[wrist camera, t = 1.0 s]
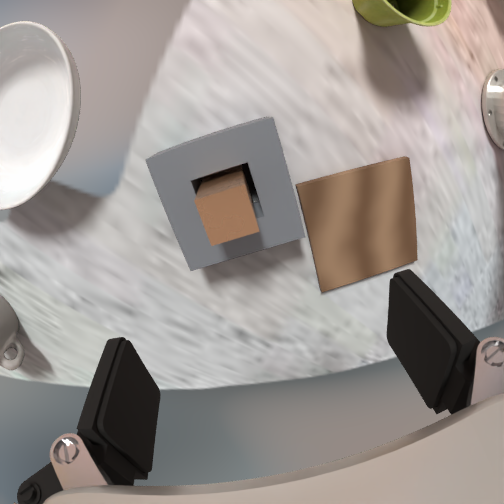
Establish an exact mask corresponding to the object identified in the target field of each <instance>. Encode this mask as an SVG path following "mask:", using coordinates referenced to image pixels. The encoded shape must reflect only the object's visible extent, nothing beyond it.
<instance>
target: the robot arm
mask: <svg viewBox="0 0 504 504" xmlns="http://www.w3.org/2000/svg"><path fill="white" fill-rule="evenodd" d="M482 110H483V117H484V121H485V125H486V128H487V131H488V133H489V135H490V137H491V138H492V140H493V141H494V143H495V144H496V145H497V146H498V147H499V148H501V149H503V150H504V69H497V70H494V71H493V72H491V73H490V74H489V76H488V77H487V79H486V81H485V83H484V87H483V93H482ZM387 340H388V343H389V345H390V346H391V348H392V349H393V351H394V352H395V354H396V356H397V357H398V359H399V360H400V362H401V364H402V365H403V367H404V368H405V370H406V372H407V373H408V375H409V377H410V378H411V380H412V381H413V383H414V384H415V386H416V388H417V389H418V391H419V393H420V394H421V396H422V398H423V400H424V401H425V403H426V405H427V406H428V407H429V408H430V409H431V408H433V409H434V411H435V412H436V414H438V413H440V412H442V411H444V410H446V409H448V410H449V412H450V413H451V415H450V416H448V417H446V418H444V419H442V420H440V421H438V422H436V423H434V424H432V425H429V426H427V427H425V428H422V429H420V430H418V431H415V432H413V433H411V434H409V435H406V436H404V437H401V438H399V439H396V440H394V441H392V442H389V443H386V444H384V445H381V446H378V447H376V448H373V449H370V450H367V451H364V452H361V453H358V454H355V455H352V456H349V457H346V458H342V459H339V460H336V461H332V462H329V463H325V464H321V465H317V466H313V467H309V468H306V469H301V470H297V471H292V472H287V473H282V474H278V475H272V476H267V477H261V478H255V479H248V480H240V481H232V482H224V483H214V484H202V485H185V486H184V485H183V486H134V485H133V484H134V479H145V480H147V478H148V472H150V471H151V470H152V462H153V453H154V443H155V434H156V425H157V418H158V410H159V403H160V390H159V388H158V386H157V385H156V383H155V382H154V380H153V378H152V377H151V375H150V374H149V372H148V370H147V369H146V367H145V365H144V364H143V362H142V360H141V359H140V357H139V355H138V354H137V352H136V350H135V348H134V347H133V345H132V343H131V342H130V341H129V340H126V339H125V338H124V337H119V338H113V339H109V340H108V341H107V343H106V346H105V348H104V351H103V353H102V356H101V359H100V361H99V364H98V367H97V369H96V372H95V375H94V378H93V381H92V383H91V386H90V389H89V392H88V395H87V398H86V401H85V404H84V407H83V410H82V413H81V416H80V420H79V423H78V426H77V429H78V433H77V435H76V434H71V433H68V434H64V435H62V436H60V437H59V438H58V439H56V440H55V442H54V443H53V444H52V447H51V449H50V459H51V462H50V463H49V464H48V465H46V466H45V467H44V468H42V469H41V470H39V471H38V472H37V473H35V474H34V475H32V476H31V477H30V478H28V479H27V480H26V481H24V482H23V483H22V484H21V486H20V487H19V489H18V493H17V499H18V504H504V339H502V338H498V337H489V338H486V339H484V340H483V341H481V342H480V341H479V340H478V339H477V338H476V337H475V336H474V335H473V334H472V332H471V331H470V330H469V329H468V328H467V327H466V326H465V325H464V324H463V322H462V321H461V320H460V319H459V318H458V317H457V316H456V315H455V314H454V313H453V312H452V311H451V310H450V309H449V308H448V307H447V306H446V305H445V303H444V302H443V301H442V300H441V299H440V298H439V297H438V296H437V295H436V294H435V293H434V292H433V291H432V290H431V289H430V288H429V287H428V286H427V285H426V284H425V283H424V282H423V281H422V280H421V279H420V278H419V277H418V276H417V275H415V274H414V273H413V272H412V271H411V270H410V269H407V270H404V271H401V272H397V273H395V274H394V276H393V278H392V279H390V287H389V309H388V325H387ZM14 504H16V503H15V502H14Z"/></svg>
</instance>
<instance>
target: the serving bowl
mask: <svg viewBox="0 0 504 504" xmlns="http://www.w3.org/2000/svg"><path fill="white" fill-rule="evenodd" d="M80 89H81V88H80V79H79V74H78V70H77V66H76V63H75V61H74V58H73V56H72V54H71V52H70V50H69V49H68V47H67V46H66V44H65V43H64V42H63V40H61V38H60V37H59V36H58V35H57V34H55V33H54V32H53V31H52V30H50V29H49V28H47V27H46V26H44V25H41V24H39V23H35V22H29V21H21V22H15V23H11V24H8V25H6V26H3V27H1V28H0V210H6V209H11V208H15V207H17V206H20V205H22V204H24V203H25V202H27V201H29V200H30V199H31V198H33V197H34V196H35V195H36V194H37V193H38V192H39V191H40V190H42V189H43V188H44V187H45V186H46V185H47V183H48V182H49V181H50V180H51V179H52V177H53V176H54V175H55V173H56V172H57V171H58V169H59V168H60V166H61V164H62V163H63V161H64V159H65V158H66V156H67V153H68V151H69V149H70V147H71V144H72V142H73V139H74V136H75V132H76V129H77V124H78V120H79V113H80V103H81V90H80Z"/></svg>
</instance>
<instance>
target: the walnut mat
mask: <svg viewBox="0 0 504 504" xmlns="http://www.w3.org/2000/svg"><path fill="white" fill-rule="evenodd" d="M296 188H297V192H298V196H299V200H300V204H301V208H302V212H303V216H304V220H305V224H306V228H307V232H308V237H309V241H310V245H311V249H312V254H313V258H314V263H315V267H316V272H317V276H318V281H319V286H320V289H321V291H322V292H325V291H328V290H331V289H334V288H337V287H340V286H343V285H347V284H350V283H353V282H356V281H359V280H362V279H365V278H368V277H371V276H374V275H377V274H379V273H382V272H385V271H388V270H391V269H394V268H397V267H400V266H402V265H405V264H408V263H411V262H413V261H416V260H417V235H416V217H415V204H414V194H413V184H412V175H411V167H410V160H409V158H408V157H400V158H396V159H392V160H388V161H384V162H379V163H375V164H371V165H367V166H363V167H359V168H355V169H351V170H347V171H344V172H340V173H336V174H332V175H329V176H325V177H321V178H317V179H314V180H310V181H307V182H303V183H299V184H296Z"/></svg>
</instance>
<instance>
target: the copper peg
mask: <svg viewBox="0 0 504 504" xmlns="http://www.w3.org/2000/svg"><path fill="white" fill-rule="evenodd" d="M194 202H195V204H196V207H197V210H198V212H199V215H200V217H201V220H202V223H203V225H204V228H205V231H206V233H207V236H208V238H209V241H210V243H211V246H214V245H217V244H220V243H223V242H227V241H230V240H233V239H237V238H240V237H243V236H246V235H250V234H253V233H256V232H260V231H259V227H258V223H257V218H256V214H255V210H254V205H253V201H252V197H251V194H250V191H249V187H248V184H247V181H246V178H245V175H244V172H243V168H242V165H241V164H240V165H237V166H234V167H231V168H228V169H224V170H221V171H218V172H215V173H212V174H209V175H206V176H204V178H203V180H202V182H201V185H200V187H199V190H198V192H197V195H196V197H195V200H194Z"/></svg>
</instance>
